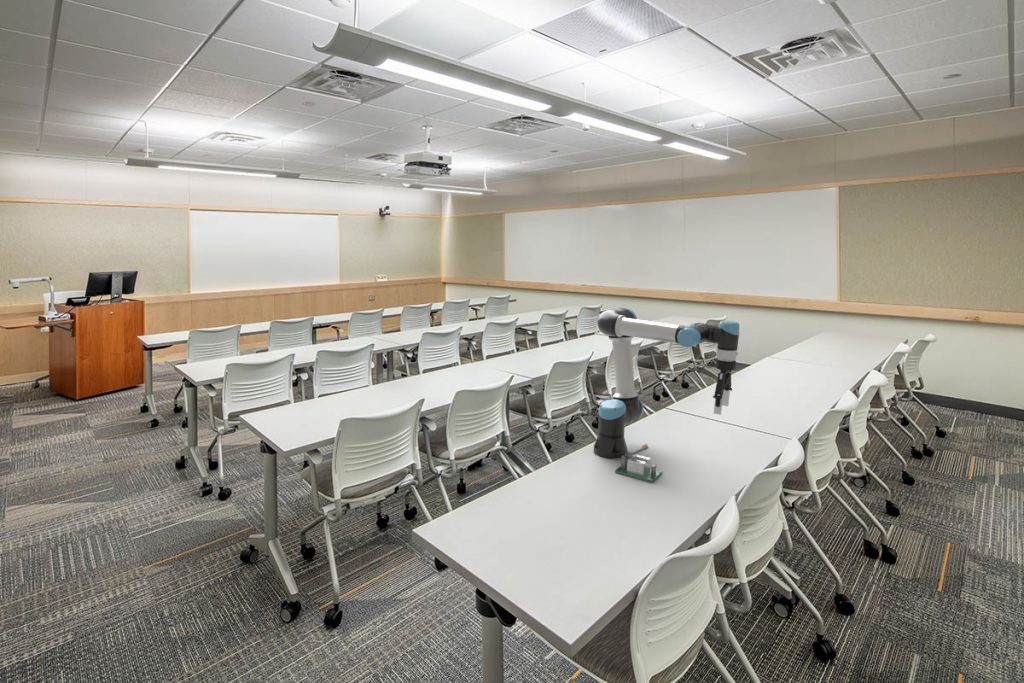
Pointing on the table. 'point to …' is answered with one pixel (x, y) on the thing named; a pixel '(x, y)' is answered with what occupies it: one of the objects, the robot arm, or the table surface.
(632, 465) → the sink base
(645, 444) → the grey rod
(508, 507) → the table surface
